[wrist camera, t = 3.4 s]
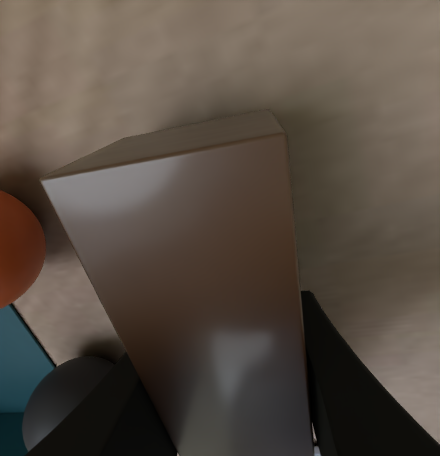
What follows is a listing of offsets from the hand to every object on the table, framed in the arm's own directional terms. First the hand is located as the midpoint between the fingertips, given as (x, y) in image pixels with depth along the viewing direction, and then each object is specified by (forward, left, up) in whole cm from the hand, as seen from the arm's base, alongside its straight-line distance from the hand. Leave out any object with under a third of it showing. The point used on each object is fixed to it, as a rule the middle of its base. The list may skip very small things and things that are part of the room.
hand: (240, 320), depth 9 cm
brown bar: (0, 0, -1) cm, 1 cm away
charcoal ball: (-4, +8, 0) cm, 9 cm away
